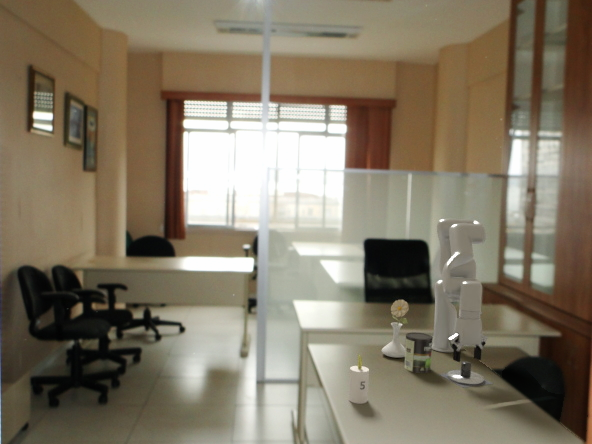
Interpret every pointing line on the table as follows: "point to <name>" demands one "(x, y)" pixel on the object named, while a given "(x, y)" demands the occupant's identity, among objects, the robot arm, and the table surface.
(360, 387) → the candle
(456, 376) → the lid
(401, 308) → the flower in vase
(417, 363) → the coffee can
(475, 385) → the mat
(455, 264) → the robot arm
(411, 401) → the table surface
